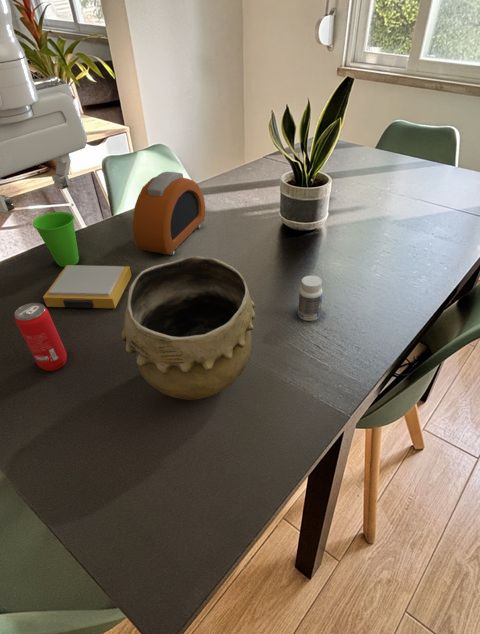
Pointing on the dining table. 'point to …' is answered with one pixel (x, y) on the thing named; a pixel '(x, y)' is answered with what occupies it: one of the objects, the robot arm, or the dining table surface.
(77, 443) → the dining table surface
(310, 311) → the pill bottle
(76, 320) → the dining table surface
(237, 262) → the dining table surface
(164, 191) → the alarm clock
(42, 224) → the cup
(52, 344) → the beverage can
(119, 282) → the scale
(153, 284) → the clay pot
